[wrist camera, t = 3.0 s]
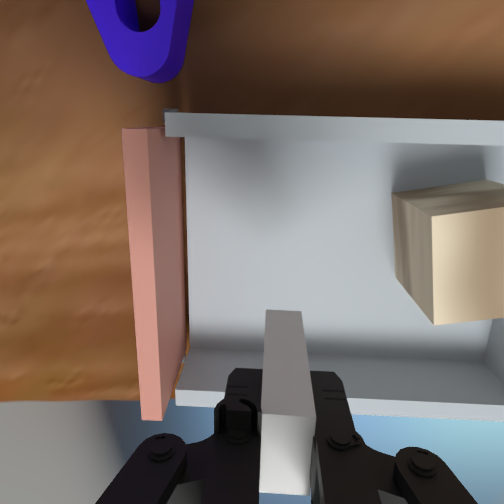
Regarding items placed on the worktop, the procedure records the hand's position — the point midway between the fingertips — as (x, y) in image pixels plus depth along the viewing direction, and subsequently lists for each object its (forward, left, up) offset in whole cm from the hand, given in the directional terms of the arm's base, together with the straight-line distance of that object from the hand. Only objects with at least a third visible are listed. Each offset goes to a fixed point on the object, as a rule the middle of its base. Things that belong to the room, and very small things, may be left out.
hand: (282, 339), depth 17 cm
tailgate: (-8, 0, -8) cm, 12 cm away
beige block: (+11, +2, -11) cm, 16 cm away
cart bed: (+5, 0, -14) cm, 15 cm away
